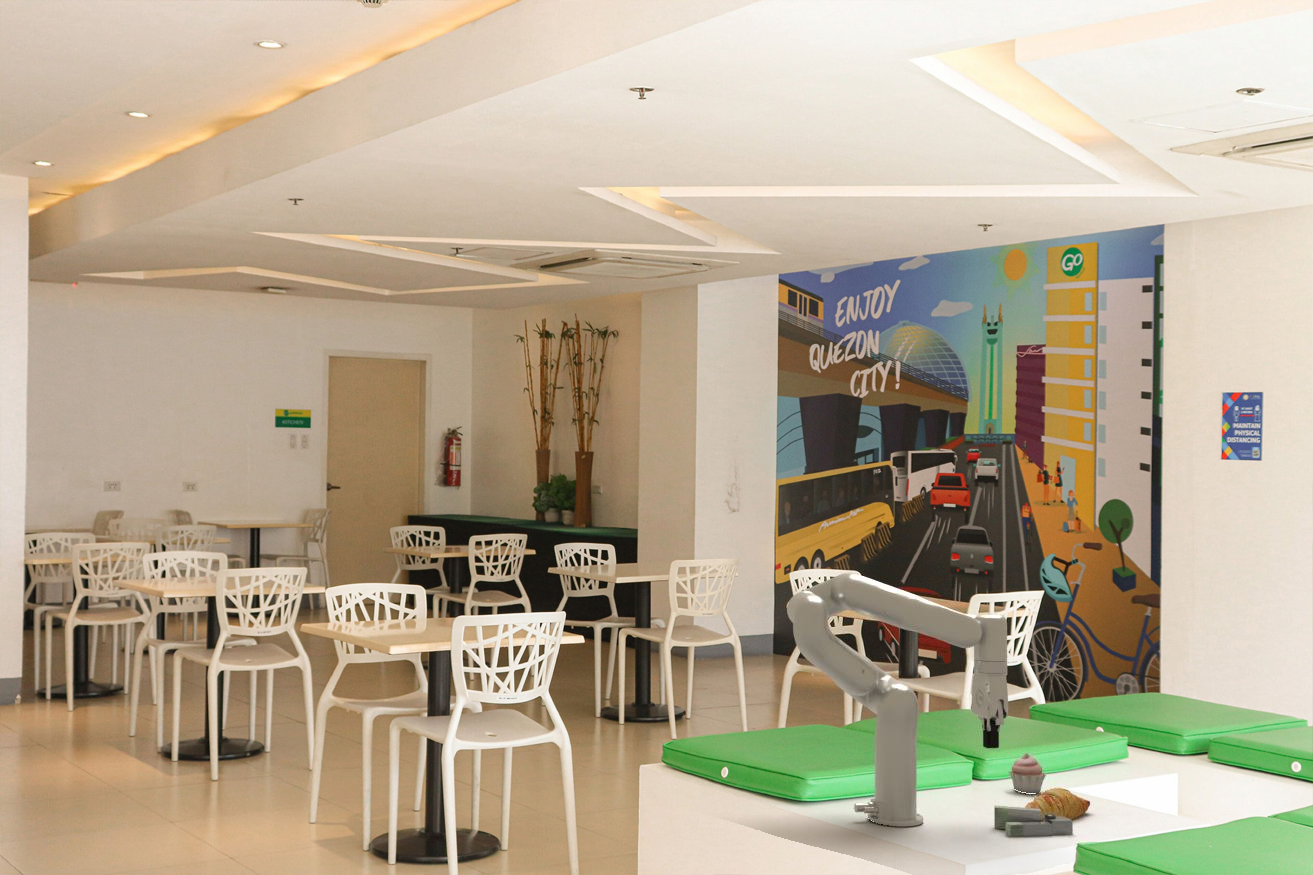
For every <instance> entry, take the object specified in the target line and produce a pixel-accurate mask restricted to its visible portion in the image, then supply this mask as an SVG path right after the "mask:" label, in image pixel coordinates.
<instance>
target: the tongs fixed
mask: <svg viewBox="0 0 1313 875" xmlns="http://www.w3.org/2000/svg"><path fill="white" fill-rule="evenodd" d="M1073 820H1074V819H1068V818H1066V817H1064V816H1056V815H1054V814H1045V817H1043V820H1042V821H1041V822H1020V823H1019V822H1006V829H1005V835H1006V836H1008V837H1010V838H1012V837H1013V838H1018V837H1019V838H1020V837H1041V836H1042V837H1044V836H1048V837H1049V836H1055V835H1056V836H1057V835H1059V836H1060V835H1073V830H1074V829H1073V828H1074V824H1073V823H1074V822H1073Z"/></svg>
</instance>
